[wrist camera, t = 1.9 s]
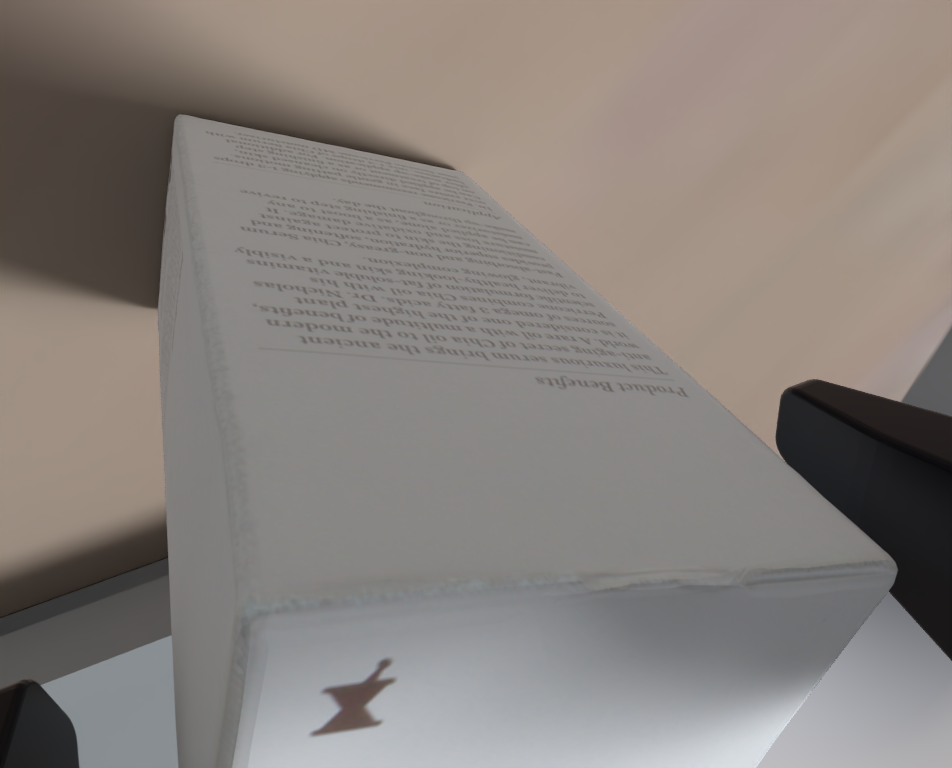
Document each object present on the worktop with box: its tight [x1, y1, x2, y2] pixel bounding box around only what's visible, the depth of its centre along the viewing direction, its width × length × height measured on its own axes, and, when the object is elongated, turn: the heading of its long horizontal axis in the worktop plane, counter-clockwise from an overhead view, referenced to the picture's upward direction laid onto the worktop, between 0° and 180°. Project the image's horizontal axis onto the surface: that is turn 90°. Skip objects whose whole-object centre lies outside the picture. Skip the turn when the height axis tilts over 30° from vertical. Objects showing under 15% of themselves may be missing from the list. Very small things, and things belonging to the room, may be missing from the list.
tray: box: [0, 558, 179, 768], centre depth 22 cm, size 16×16×2 cm
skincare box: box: [158, 114, 898, 768], centre depth 11 cm, size 6×4×12 cm
